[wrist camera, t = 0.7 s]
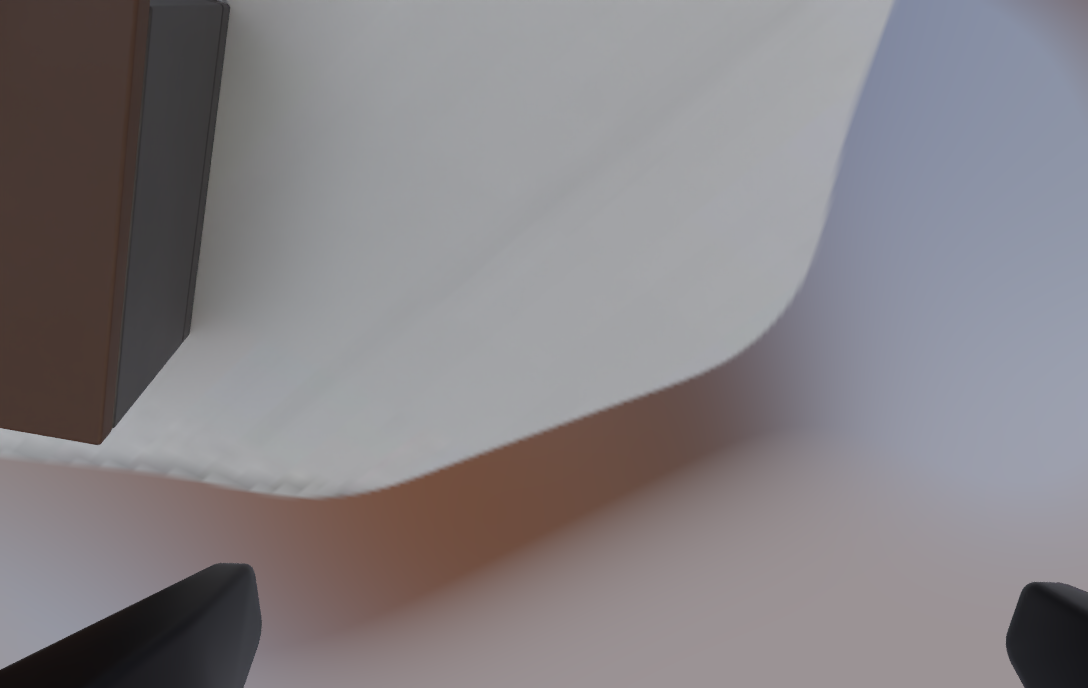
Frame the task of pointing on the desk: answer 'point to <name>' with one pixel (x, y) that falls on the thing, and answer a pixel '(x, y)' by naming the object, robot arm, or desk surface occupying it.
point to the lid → (66, 207)
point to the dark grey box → (169, 186)
